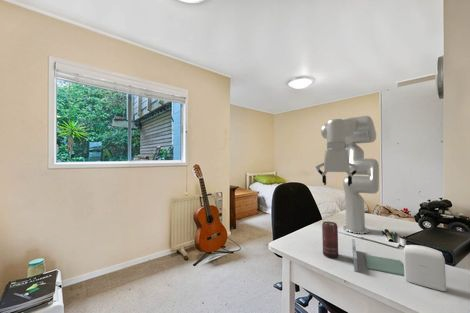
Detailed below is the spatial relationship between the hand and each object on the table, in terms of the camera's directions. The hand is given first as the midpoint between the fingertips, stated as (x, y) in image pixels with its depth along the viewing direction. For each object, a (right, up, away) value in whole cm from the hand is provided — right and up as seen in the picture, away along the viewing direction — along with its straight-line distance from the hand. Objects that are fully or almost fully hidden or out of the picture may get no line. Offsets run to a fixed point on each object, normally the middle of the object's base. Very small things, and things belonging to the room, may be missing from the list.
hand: (336, 185), depth 92 cm
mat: (+13, -30, -11) cm, 34 cm away
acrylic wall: (+4, -30, -7) cm, 31 cm away
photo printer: (+17, -30, -24) cm, 42 cm away
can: (-4, -30, -3) cm, 31 cm away
